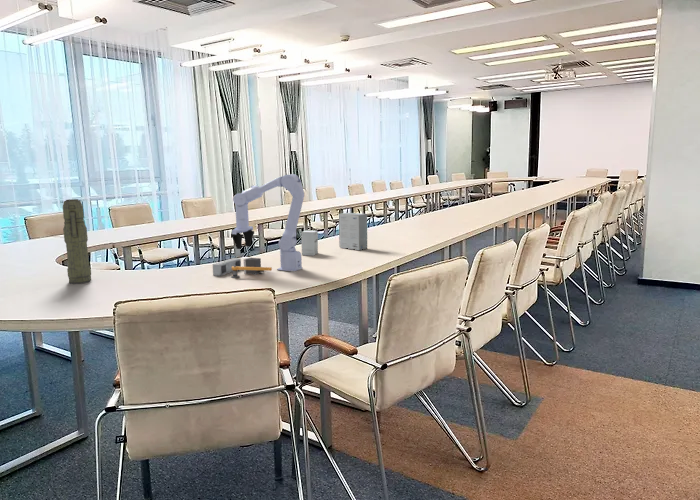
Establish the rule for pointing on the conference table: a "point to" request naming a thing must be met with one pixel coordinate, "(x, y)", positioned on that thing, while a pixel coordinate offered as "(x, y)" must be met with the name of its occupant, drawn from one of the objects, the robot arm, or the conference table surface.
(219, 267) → the socket
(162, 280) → the conference table surface
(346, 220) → the hard drive box
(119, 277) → the conference table surface
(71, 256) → the carved stone statue
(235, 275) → the lever handle base
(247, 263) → the plug
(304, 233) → the supplement box
